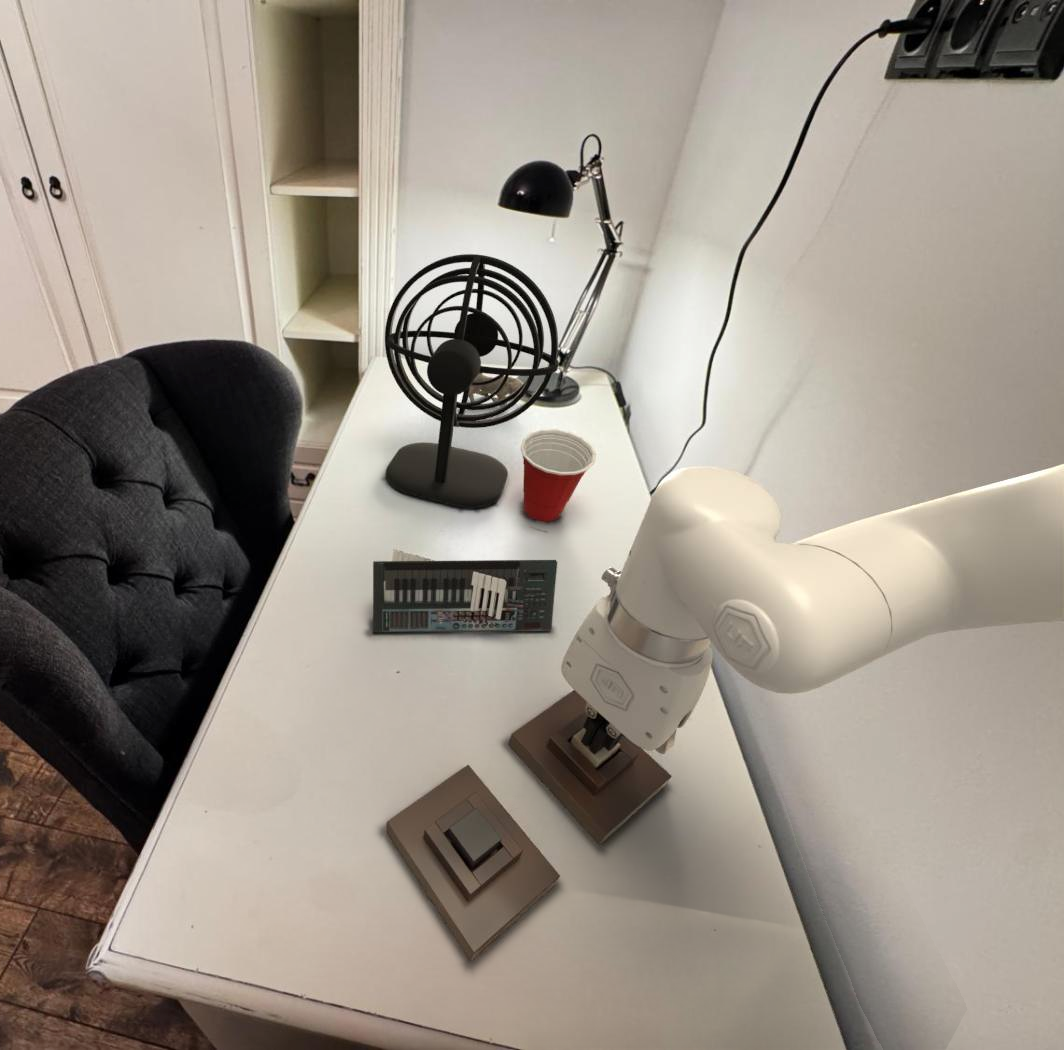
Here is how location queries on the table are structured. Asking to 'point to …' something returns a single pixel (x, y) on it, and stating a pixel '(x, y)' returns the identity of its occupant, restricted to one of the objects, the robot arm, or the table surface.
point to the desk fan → (464, 380)
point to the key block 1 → (454, 888)
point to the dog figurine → (494, 387)
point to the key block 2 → (587, 769)
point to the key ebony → (474, 837)
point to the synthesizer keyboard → (462, 594)
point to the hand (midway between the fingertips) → (597, 740)
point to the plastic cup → (552, 470)
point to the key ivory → (593, 759)
